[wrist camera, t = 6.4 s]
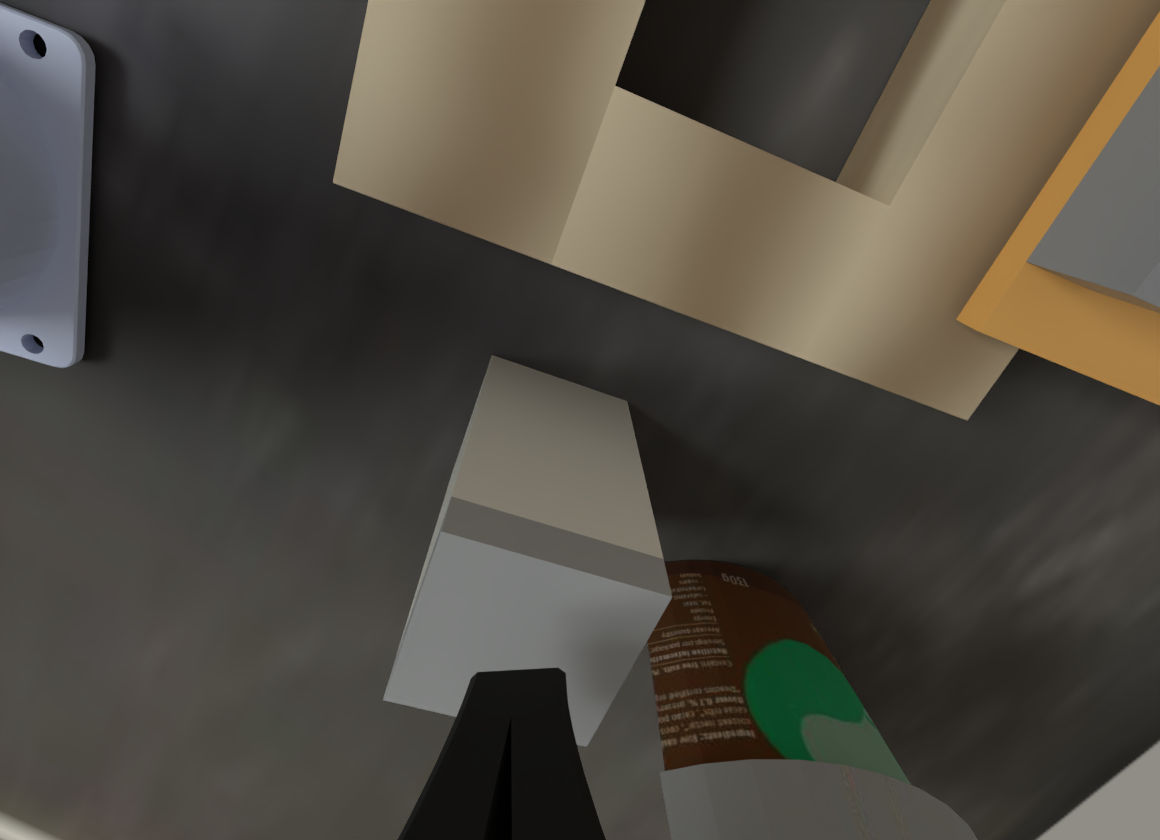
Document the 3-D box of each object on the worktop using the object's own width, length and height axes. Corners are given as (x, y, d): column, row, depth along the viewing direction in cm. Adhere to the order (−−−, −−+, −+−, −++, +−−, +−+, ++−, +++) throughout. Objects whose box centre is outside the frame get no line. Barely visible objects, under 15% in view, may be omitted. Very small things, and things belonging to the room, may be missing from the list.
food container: (870, 730, 24) (1052, 1095, 15) (716, 769, 25) (804, 1136, 16) (815, 475, 19) (1045, 801, 10) (622, 533, 20) (675, 884, 11)
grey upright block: (451, 473, 19) (383, 699, 11) (491, 355, 17) (441, 531, 10) (577, 511, 19) (586, 746, 12) (627, 401, 18) (672, 597, 10)
